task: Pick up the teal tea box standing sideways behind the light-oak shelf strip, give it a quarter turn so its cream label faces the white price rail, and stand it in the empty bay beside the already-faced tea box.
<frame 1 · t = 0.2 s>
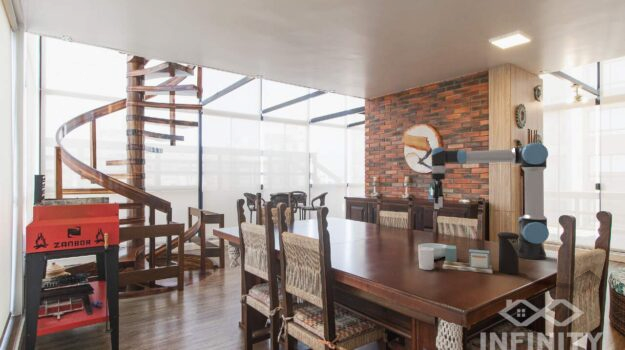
hand: (438, 208, 210), 28 cm above the table, tool pointing down, fingers open, 13 cm apart
shelf: (467, 270, 173), on the table
faced tea box: (479, 269, 171), point 1 cm above the table, touching shelf
cereal bowl: (433, 258, 201), on the table
container: (508, 274, 166), on the table
tea box: (451, 263, 187), on the table
white cup: (426, 268, 178), on the table
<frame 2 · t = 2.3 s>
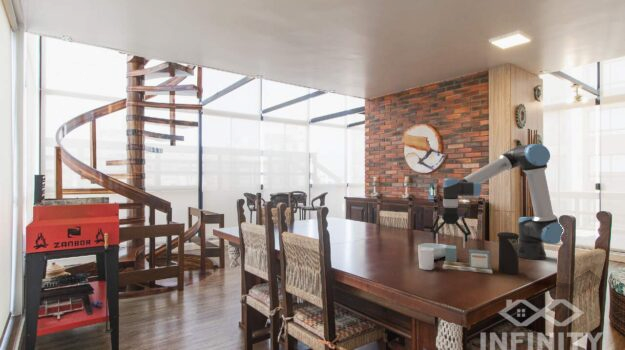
hand: (450, 246, 187), 9 cm above the table, tool pointing down, fingers open, 13 cm apart
nothing on the table moved.
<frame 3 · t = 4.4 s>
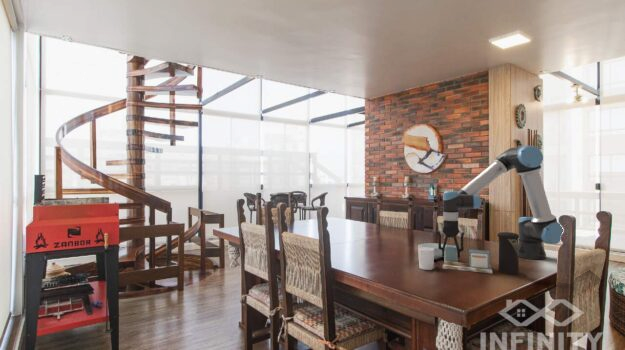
hand: (451, 263, 186), 0 cm above the table, tool pointing down, fingers closed on tea box, 5 cm apart
tea box: (451, 263, 186), on the table, touching gripper
everything else where it was.
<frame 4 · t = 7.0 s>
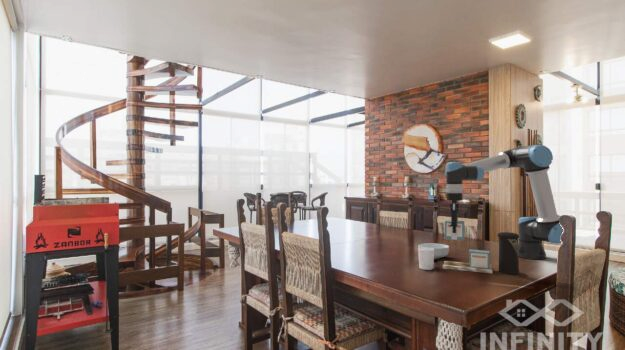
hand: (454, 238, 176), 16 cm above the table, tool pointing down, fingers closed on tea box, 5 cm apart
tea box: (454, 239, 176), point 15 cm above the table, touching gripper
everything else where it was.
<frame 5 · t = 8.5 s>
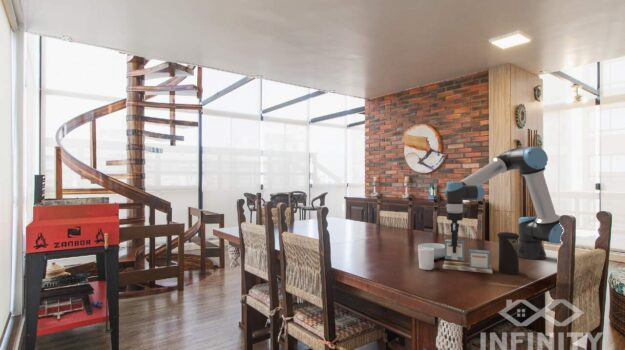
hand: (454, 258, 175), 6 cm above the table, tool pointing down, fingers closed on tea box, 5 cm apart
tea box: (454, 258, 176), point 5 cm above the table, touching gripper
everything else where it was.
when the fingers open (3 cm above the table, at t = 9.7 s): tea box drops 2 cm, resting on shelf.
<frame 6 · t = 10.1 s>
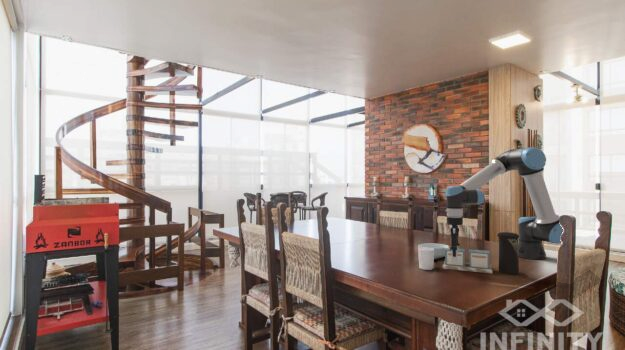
hand: (455, 260, 176), 4 cm above the table, tool pointing down, fingers open, 10 cm apart
tea box: (455, 267, 176), point 1 cm above the table, touching shelf
everything else where it was.
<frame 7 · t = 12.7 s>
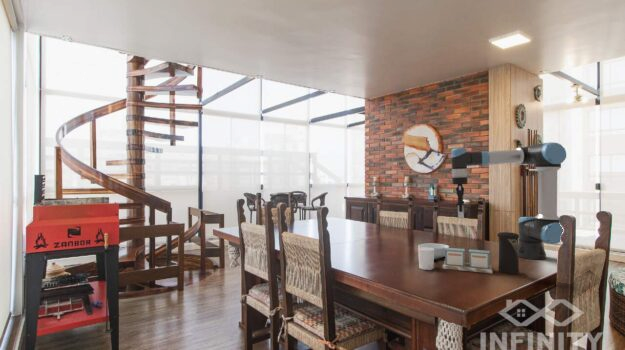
hand: (460, 216, 187), 25 cm above the table, tool pointing down, fingers open, 13 cm apart
nothing on the table moved.
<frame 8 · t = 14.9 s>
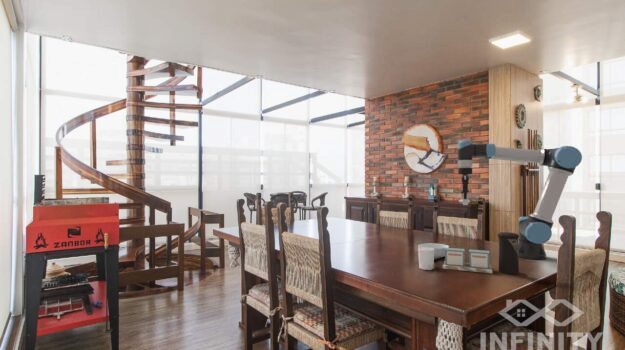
hand: (465, 204, 202), 31 cm above the table, tool pointing down, fingers open, 13 cm apart
nothing on the table moved.
at the end: tea box 0.3 cm from the target spot on the shelf, point 1.0 cm above the shelf's base; tea box tilted 0°; the gripper is holding nothing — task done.
